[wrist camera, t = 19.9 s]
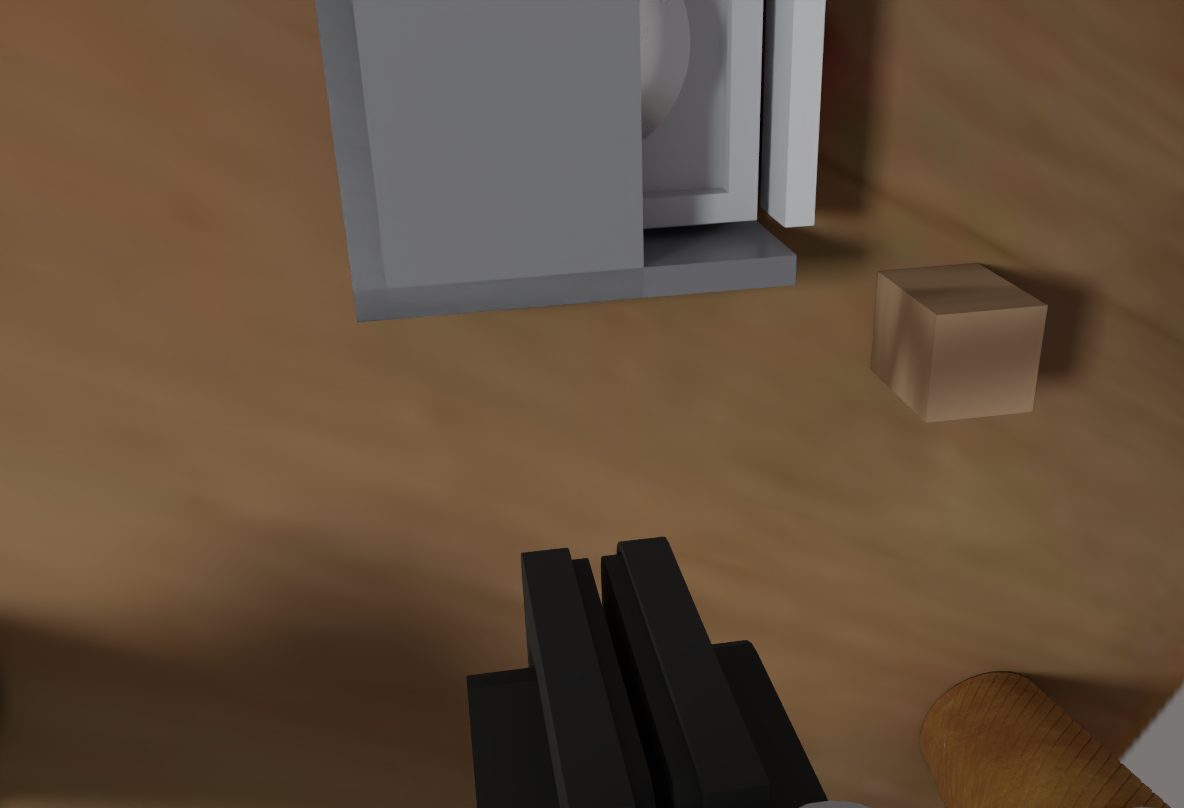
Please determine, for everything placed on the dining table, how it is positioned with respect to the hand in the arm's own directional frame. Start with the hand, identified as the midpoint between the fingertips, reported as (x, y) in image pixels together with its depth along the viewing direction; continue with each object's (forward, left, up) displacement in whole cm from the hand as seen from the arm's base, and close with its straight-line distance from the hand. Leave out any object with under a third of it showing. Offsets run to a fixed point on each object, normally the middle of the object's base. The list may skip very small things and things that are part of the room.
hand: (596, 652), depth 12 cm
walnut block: (-7, -17, -27) cm, 33 cm away
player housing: (+4, -3, -27) cm, 28 cm away
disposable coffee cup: (-28, -22, -27) cm, 45 cm away
